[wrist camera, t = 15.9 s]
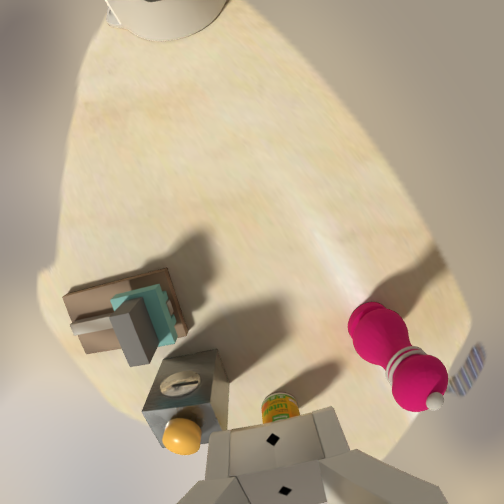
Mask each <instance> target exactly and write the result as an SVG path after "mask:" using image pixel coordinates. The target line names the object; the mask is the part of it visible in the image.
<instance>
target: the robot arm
mask: <svg viewBox="0 0 504 504" xmlns="http://www.w3.org/2000/svg"><path fill="white" fill-rule="evenodd" d="M105 1H106V3H107V5H108V10H107V18H106V20H107V23H108V24H109V26H111V27H115V28H124V29H127V30H129V31H130V32H132V33H133V34H135V35H136V36H138V37H140V38H143V39H146V40H151V41H171V40H176V39H181V38H184V37H187V36H190V35H192V34H194V33H196V32H198V31H200V30H201V29H203V28H205V27H206V26H207V25H209V24H210V23H211V22H212V21H213V20H214V19H215V18H216V17H217V16H218V14H219V13H220V12H221V10H222V8H223V6H224V4H225V2H226V1H227V0H105ZM324 502H327V503H328V504H448V502H447V500H446V498H445V497H444V495H443V494H442V492H441V490H440V488H439V487H438V486H436V485H434V484H431V483H429V482H426V481H424V480H421V479H419V478H417V477H414V476H412V475H410V474H408V473H406V472H403V471H401V470H399V469H397V468H395V467H393V466H390V465H388V464H386V463H384V462H382V461H380V460H378V459H376V458H374V457H372V456H370V455H368V454H366V453H364V452H362V451H360V450H358V449H355V450H351V451H350V448H349V446H348V443H347V441H346V438H345V435H344V433H343V430H342V428H341V425H340V423H339V420H338V418H337V415H336V413H335V410H334V408H333V407H332V406H330V407H327V408H323V409H320V410H316V411H313V412H312V413H307V414H303V415H299V416H295V417H291V418H287V419H283V420H279V421H275V422H270V423H265V424H260V425H254V426H248V427H242V428H236V429H232V430H225V431H217V432H212V433H211V435H210V437H209V446H208V455H207V465H206V473H205V480H202V481H198V482H197V483H196V484H195V485H194V486H193V487H192V488H191V489H190V490H189V492H188V493H187V494H186V495H185V496H184V497H183V498H182V499H181V500H180V501H179V502H178V503H177V504H319V503H324Z"/></svg>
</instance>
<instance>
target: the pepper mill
mask: <svg viewBox="0 0 504 504" xmlns="http://www.w3.org/2000/svg"><path fill="white" fill-rule="evenodd" d="M348 332H349V334H350V336H351V337H352V339H353V345H354V348H355V350H356V351H357V353H358V354H359V355H360V356H361V357H362V358H363V359H364V360H366V361H368V362H369V363H372V364H375V365H380V366H382V367H383V368H384V369H385V370H386V378H387V380H388V382H389V383H390V385H391V386H392V394H393V396H394V399H395V400H396V402H397V403H398V404H399V405H400V406H401V407H402V408H403V409H406V410H408V411H412V412H420V411H425V410H427V409H430V410H438V409H439V408H441V407H442V405H443V403H444V398H443V395H444V393H445V391H446V389H447V385H448V373H447V370H446V368H445V366H444V365H443V363H442V362H441V361H440V360H439V359H438V358H436V357H434V356H431V355H427V354H426V353H425V352H424V351H423V350H422V349H421V348H419V347H416V346H412V345H411V343H410V341H409V335H408V329H407V327H406V324H405V322H404V321H403V319H402V318H401V317H400V316H399V314H397V313H396V312H395V311H393V310H390V309H386V308H385V307H384V306H383V305H382V304H380V303H377V302H368V303H365V304H363V305H361V306H359V307H358V308H357V309H356V310H355V311H354V312H353V313H352V315H351V316H350V319H349V322H348Z"/></svg>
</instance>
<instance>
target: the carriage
mask: <svg viewBox="0 0 504 504" xmlns="http://www.w3.org/2000/svg"><path fill="white" fill-rule="evenodd" d="M167 300H168V296H167V293H166V291H163V292H162V290H161V287H160V284H156V285H152V286H148V287H144V288H140V289H136V290H132V291H128V292H124V293H120V294H116V295H115V296H114V297H113V298H112V299H110V301H111V304H112V307H113V309H114V312H113V313H112V314H111V315H110V317H109V319H110V322H111V324H112V327H113V329H114V331H115V334H116V336H117V339H118V341H119V343H120V346H121V348H122V350H123V353H124V355H125V357H126V359H127V362H128V364H129V366H130V367H133V366H140V365H146V364H150V362H151V360H152V358H153V355H154V353H155V351H156V349H157V347H160V346H165V345H170V344H175V342H176V340H177V337H178V335H177V332H176V330H175V327H174V326H175V323H176V319H175V316H174V314H173V315H172V316H170V313H169V310H168V307H167V304H166V301H167Z"/></svg>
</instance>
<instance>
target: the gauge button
mask: <svg viewBox="0 0 504 504" xmlns="http://www.w3.org/2000/svg"><path fill="white" fill-rule="evenodd" d="M201 435H202V432H201V429H200V427H199V426H198V425H197V424H196V423H195V422H193V421H191V420H188V419H184V418H176V419H172V420H170V421H169V422H168V423H167V424H166V427H165V431H164V434H163V438H162V441H163V444H164V446H165V447H166V448H167V449H168V450H170V451H171V452H174V453H176V454H180V455H190V454H193V453H196V452H197V451H198V450H199V448H200V442H201Z"/></svg>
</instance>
